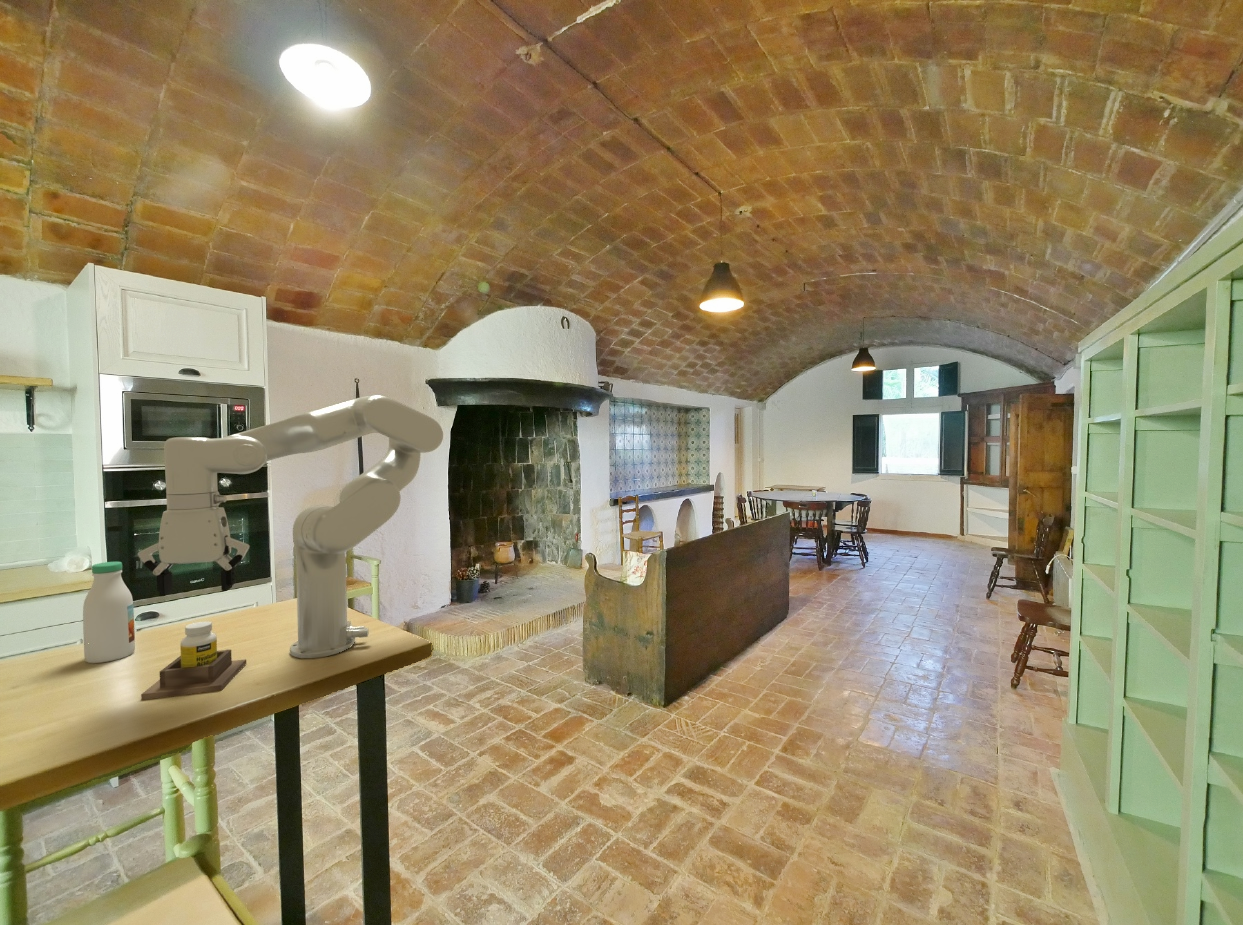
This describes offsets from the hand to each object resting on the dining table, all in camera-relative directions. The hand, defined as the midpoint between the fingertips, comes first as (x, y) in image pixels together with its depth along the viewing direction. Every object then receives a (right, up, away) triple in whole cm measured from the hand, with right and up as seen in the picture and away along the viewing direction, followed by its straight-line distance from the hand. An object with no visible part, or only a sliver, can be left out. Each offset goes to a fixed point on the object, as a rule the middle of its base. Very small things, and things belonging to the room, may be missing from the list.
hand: (197, 591), depth 100 cm
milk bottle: (-28, -17, +12) cm, 35 cm away
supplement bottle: (0, -16, +1) cm, 16 cm away
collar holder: (0, -17, 0) cm, 17 cm away
